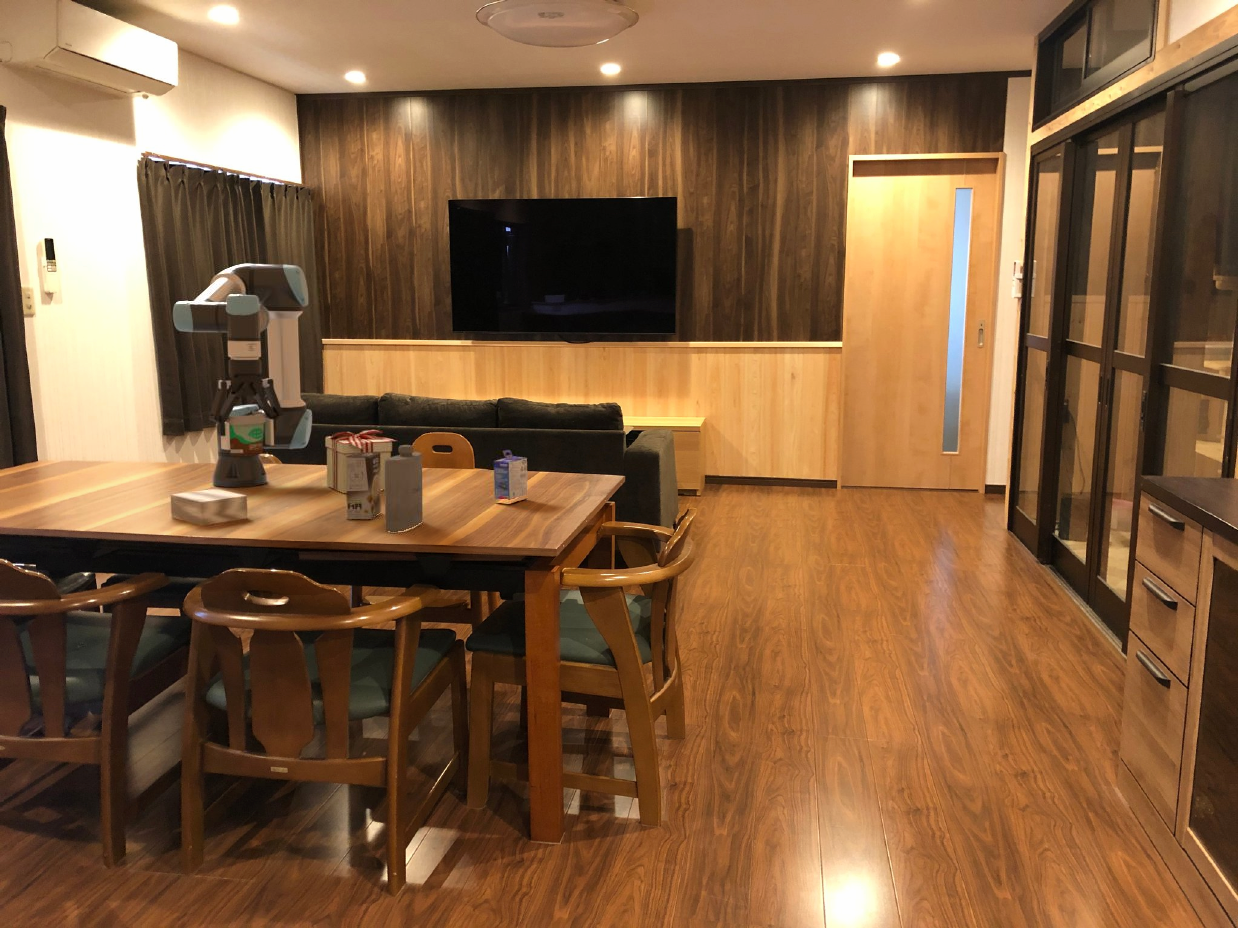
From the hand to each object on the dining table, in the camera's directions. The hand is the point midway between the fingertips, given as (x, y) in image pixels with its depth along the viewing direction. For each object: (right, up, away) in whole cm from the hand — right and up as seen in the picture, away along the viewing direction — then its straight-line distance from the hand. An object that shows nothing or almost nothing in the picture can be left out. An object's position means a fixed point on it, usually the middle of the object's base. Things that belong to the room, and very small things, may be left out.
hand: (248, 446), depth 236 cm
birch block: (-10, -18, +1) cm, 20 cm away
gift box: (+16, -12, +45) cm, 49 cm away
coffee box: (+27, -18, +6) cm, 33 cm away
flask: (+40, -20, -4) cm, 45 cm away
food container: (+1, -2, +2) cm, 3 cm away
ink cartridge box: (+62, -15, +31) cm, 71 cm away
